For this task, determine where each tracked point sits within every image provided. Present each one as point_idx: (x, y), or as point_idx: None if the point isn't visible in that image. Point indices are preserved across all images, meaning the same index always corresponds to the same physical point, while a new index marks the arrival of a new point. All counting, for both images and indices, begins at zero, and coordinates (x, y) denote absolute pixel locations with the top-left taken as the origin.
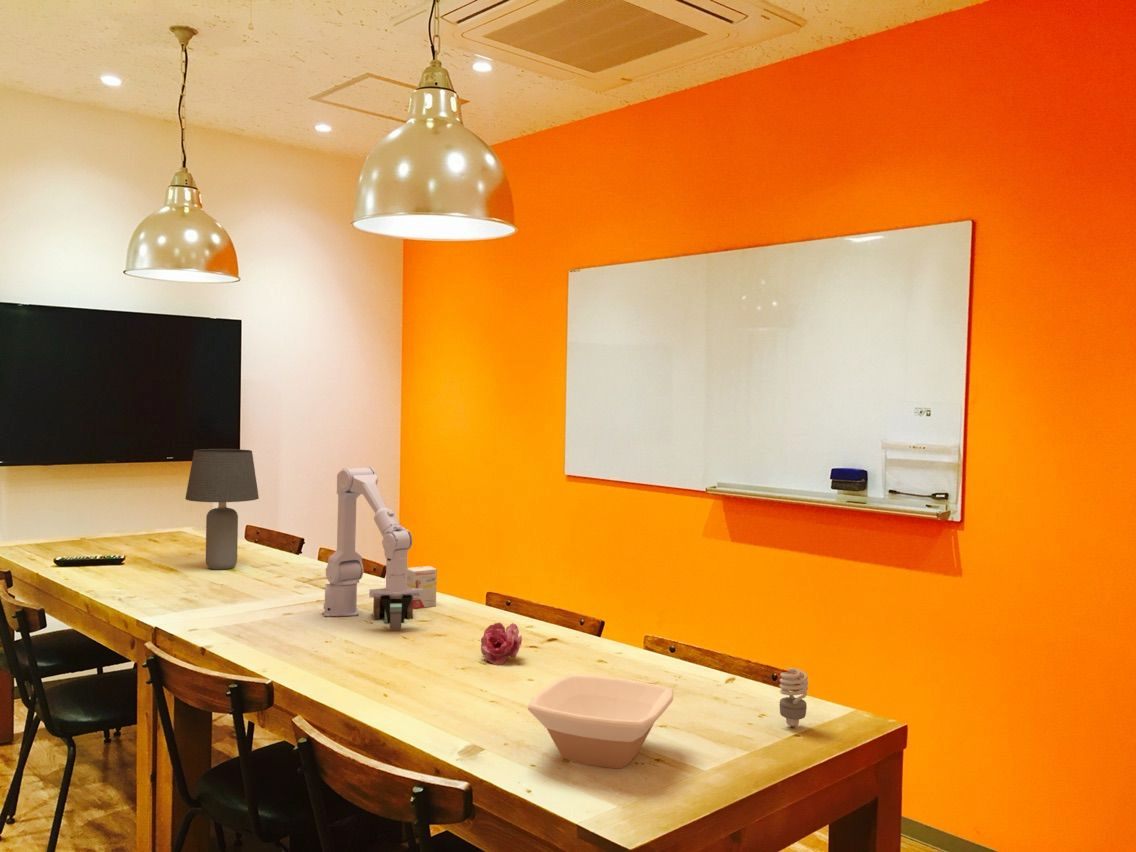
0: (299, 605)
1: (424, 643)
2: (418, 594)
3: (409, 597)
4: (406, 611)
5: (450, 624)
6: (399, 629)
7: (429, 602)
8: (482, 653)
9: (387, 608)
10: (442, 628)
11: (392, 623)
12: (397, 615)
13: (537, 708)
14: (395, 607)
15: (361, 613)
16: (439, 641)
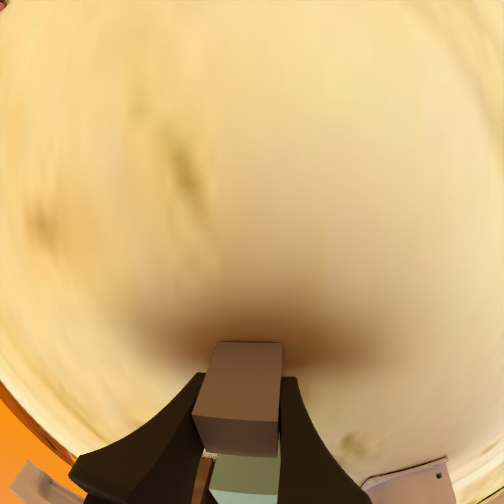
0: None
1: (92, 60)
2: (49, 487)
3: (97, 498)
4: None
5: (60, 369)
6: (226, 344)
7: None
8: (3, 4)
9: (305, 456)
10: (60, 330)
11: (265, 371)
12: (223, 408)
13: None
14: (245, 492)
15: None
16: (40, 111)
